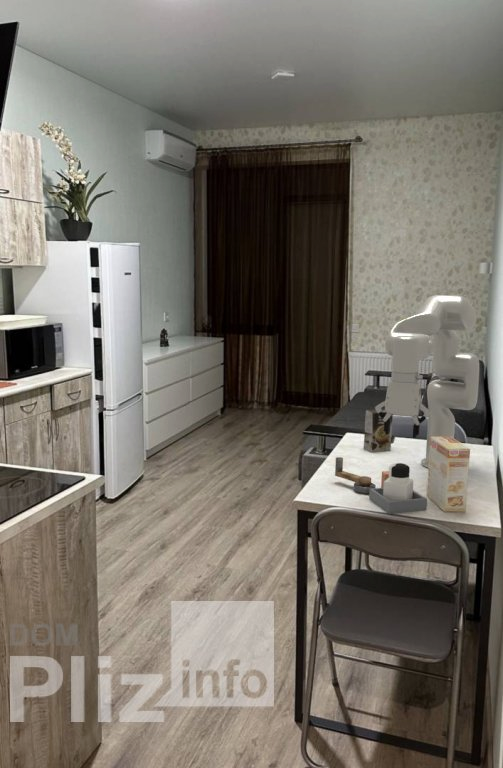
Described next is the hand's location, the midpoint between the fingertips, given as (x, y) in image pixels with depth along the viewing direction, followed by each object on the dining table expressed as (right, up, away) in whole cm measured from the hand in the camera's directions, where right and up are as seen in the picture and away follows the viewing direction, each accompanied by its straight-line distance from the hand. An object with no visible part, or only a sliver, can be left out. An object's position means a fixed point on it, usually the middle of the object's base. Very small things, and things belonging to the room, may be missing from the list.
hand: (401, 435), depth 194 cm
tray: (0, -22, +4) cm, 22 cm away
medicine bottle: (0, -21, +4) cm, 21 cm away
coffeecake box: (+15, -22, +6) cm, 27 cm away
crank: (-12, -16, +19) cm, 28 cm away
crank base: (-8, -19, +16) cm, 26 cm away
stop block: (-1, -20, +13) cm, 24 cm away
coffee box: (+6, -11, +65) cm, 67 cm away
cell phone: (+13, -9, +83) cm, 84 cm away
